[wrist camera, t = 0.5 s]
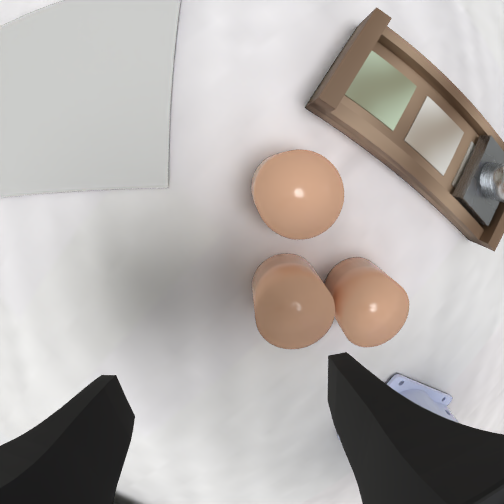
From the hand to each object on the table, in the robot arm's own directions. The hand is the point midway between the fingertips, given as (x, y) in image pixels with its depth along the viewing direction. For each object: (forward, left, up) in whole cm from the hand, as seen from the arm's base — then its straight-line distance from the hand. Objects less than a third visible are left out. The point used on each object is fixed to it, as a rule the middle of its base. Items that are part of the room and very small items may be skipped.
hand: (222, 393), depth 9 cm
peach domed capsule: (-7, -4, -10) cm, 12 cm away
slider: (-10, -15, -8) cm, 20 cm away
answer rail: (-6, -15, -10) cm, 18 cm away
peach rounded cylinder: (-3, -2, -10) cm, 10 cm away
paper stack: (+15, -12, -10) cm, 21 cm away
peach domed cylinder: (0, -7, -10) cm, 12 cm away
